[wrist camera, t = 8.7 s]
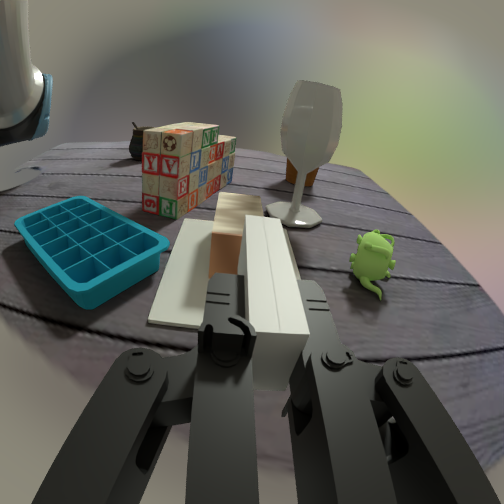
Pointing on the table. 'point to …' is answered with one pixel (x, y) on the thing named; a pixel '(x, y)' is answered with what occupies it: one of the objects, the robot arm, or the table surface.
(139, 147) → the mate gourd
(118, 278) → the ice cube tray
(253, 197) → the birch block
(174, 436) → the table surface
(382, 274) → the green monster figurine
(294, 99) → the wineglass
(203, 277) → the rubber mat
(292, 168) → the disposable coffee cup
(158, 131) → the stack of blocks
